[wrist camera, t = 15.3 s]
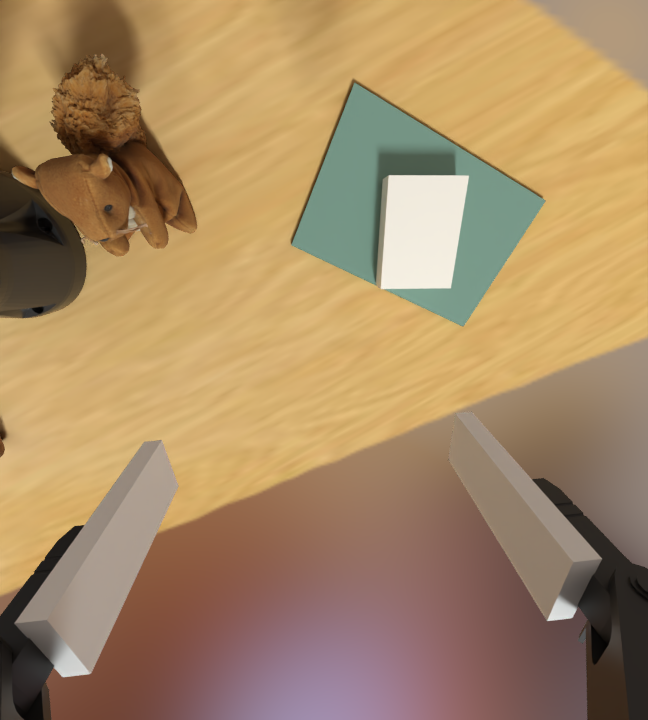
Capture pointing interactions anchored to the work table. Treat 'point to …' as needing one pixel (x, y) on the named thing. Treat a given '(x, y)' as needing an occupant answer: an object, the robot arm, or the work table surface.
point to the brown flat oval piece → (1, 447)
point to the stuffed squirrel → (107, 164)
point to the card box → (419, 230)
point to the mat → (409, 157)
